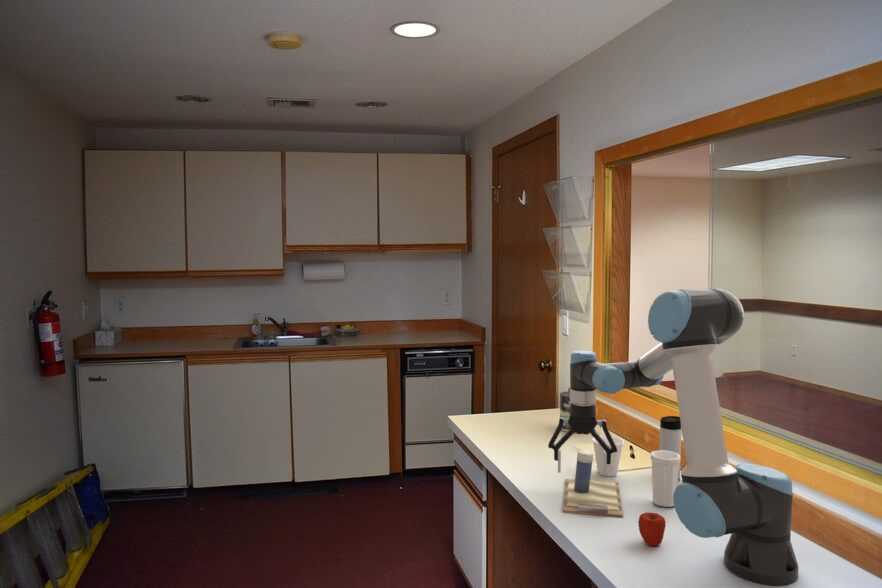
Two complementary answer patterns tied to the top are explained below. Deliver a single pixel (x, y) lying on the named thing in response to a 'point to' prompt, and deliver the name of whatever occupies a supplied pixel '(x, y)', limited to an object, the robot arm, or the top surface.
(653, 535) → the apple
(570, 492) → the clipboard
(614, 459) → the cup
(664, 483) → the cup
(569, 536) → the top surface
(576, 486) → the blue bottle
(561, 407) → the coffee can
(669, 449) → the travel mug
